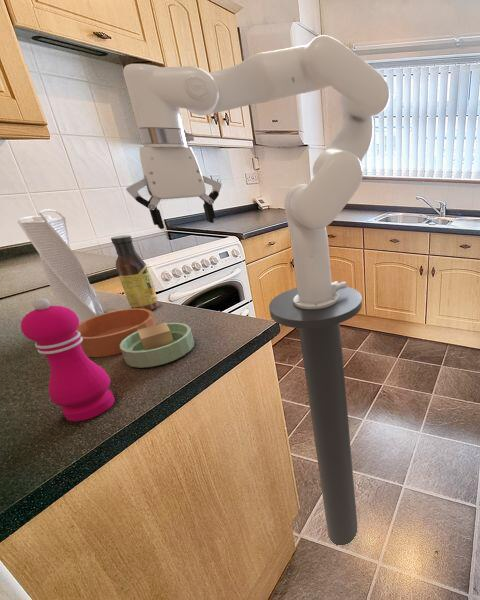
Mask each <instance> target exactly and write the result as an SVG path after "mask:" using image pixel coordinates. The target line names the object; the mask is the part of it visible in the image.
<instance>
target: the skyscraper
mask: <svg viewBox="0 0 480 600" xmlns="http://www.w3.org/2000/svg"><path fill="white" fill-rule="evenodd" d="M48 212H51V213H55V214H56V215H57V214H58V215H59V216H60V217H51V215H50V214H43V213H48ZM38 214H39V215H30V216H29V215H28V216H23V217H21V218H18V219H17V224H18V225H19V226H20V228H21V229H22V231H23V233H24V235H26V238H28V240H29V241H30V243H31V244H32V246H33V247H34V248H35V250H36V252H37V253H38V254H39V259H40V264H41V267H42V269H43V273H44V275H45V278H46V280H47V282H48V284H49V287H50V289H51V291H52V292H53V294H54V297H55V298H56V300H57V302H58V304H59V306H62V307H66V308H69V309H71V310H72V311H73V312H75V314H76V315H77V317H78V319H79V323H81V322H83V321H85V320H87V319H89V318H92V317H94V316H98V315H101V314H104V313H106V312H105V311H104V310H103V307H102V304H101V301H100V299H98V297H97V294H96V291H95V288H94V286H93V284H92V283H90V281H89V279H88V275H87V274H86V272H85V270H84V267H83V266H82V264H81V262H80V261H79V259H78V256H77V255H76V254H75V253H74V252H73V250H72V249H71V247H70V240H69V233H68V228H67V222H66V218H65V217H64V216H63V214H62V213H60V212H59V211H58V210H55V209H52V208H47V209H45V208H44V209H40V211H38Z"/></svg>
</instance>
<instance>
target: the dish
mask: <svg viewBox="0 0 480 600" xmlns="http://www.w3.org/2000/svg"><path fill="white" fill-rule="evenodd" d="M165 323H166V324H167V326H168V328H169V330H170V332H171V335H172V338H173V341H174V342H173V343H171V344H168V345H166V346H163V347H159V348H156V349H151V350H144V347H143V345H142V342H141V339H140V336H139V334H138V331H136V332H134V333H133V334H131V335H129V336H127V337H126V338H125V339H124V340H122V342H121V343H120V349H121V352H122V353H121V354H122V356H123V360H124V361H125V364H126V365H128V366H129V367H132V368H153V367H158V366H162V365H166V364H168V363H171V362H174V361H176V360H178V359H180V358H182V357H184V356H185V355H186V354H188V353H189V352H190V351H192V349H193V348H194V346H195V339H194V336H193V332H192V329H191V327H190V326H189V325H188V324H186V323H183V322H165Z"/></svg>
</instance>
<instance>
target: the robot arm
mask: <svg viewBox="0 0 480 600" xmlns="http://www.w3.org/2000/svg"><path fill="white" fill-rule="evenodd" d="M122 73H123V74H122V75H123V77H124V81H125V85H126V88H127V92H128V96H129V99H130V102H131V105H132V110H133V113H134V115H135V120H136V124H137V127H138V131H139V134H140V137H141V141H142V144H143V146H139V149H138V150H139V158H140V163H141V164H140V165H141V168H142V173H143V177H142V178H141V179H139V180H137V181H136V182H134V183H132V184H131V185H128V186H127V187H126V188H125V190H126V192H127V193H128V194H129V195H130V196H131V197H132V198H133V199H134V200H135V202H137V203H138V204H141V205H142V206H143V207H145V208H147V209H149V213H150V217H151V220H152V224H153V225H154V226H157V228H158V229H159V230H164V229H165V224H164V222H163V218H162V215H161V211H160V209H159V208H158V205H159V203H160V202H161V201H162V200H174V199H189V198H199V199H201V200H202V201H203V204H202V206H203V210H204V211H203V212H204V215H205V220H206V222H208V223H211V224H214V221H215V220H214V219H216V214H215V210H214V209H215V208H214V203H215V201H216V200H217V199H218V197H219V196H220V192H221V188H222V183H221V182H220V181H217V180H214V179H212V178H210V177H208V176H204V175H203V174H202V171H201V167H200V165H199V162H198V159H197V157H196V154H195V152H194V150H193V148H192V147H191V146H188V145H189V142H194V141H195V137H194V135H193V133H189V132H186V130H185V129H184V125H183V120H182V117H181V112H180V109H186V110H187V111H188V112H190V113H192V114H194V115H198V116H208V115H213V114H217V113H222V112H227V111H231V110H234V109H239V108H242V107H246V106H251V105H258V104H264V103H268V102H272V101H276V100H280V99H285V98H289V97H292V96H298V95H302V94H307V93H310V92H311V93H312V92H315V91H319V90H324V89H326V88H328V87H332V89H334V90H335V91H337V92H338V93H339V103H340V108H341V112H342V124H341V126H340V128H339V129H338V131H337V133H336V134H335V136H334V137H333V138H332V139H331V141H330V142H329V143H328V145H327V146H326V147H325V148H324V150H323V151H322V152H321V153H320V154H319V155H318V156H317V158H316V159H315V160H314V162H313V166H312V176H313V178H312V179H311V181H310V182H309V183H308V184H306V183H300V184H295V185H294V186H291V188H289V190H288V191H287V192H286V194H285V197H284V202H283V204H284V205H283V208H284V213H285V218H286V222H287V226H288V231H289V237H290V244H291V251H292V259H293V265H294V266H293V267H294V273H295V281H296V288H297V289H298V294H297V295H296V296H295V297H294V299H293V302H294V305H295V306H297V307H299V308H302V309H321V308H326V307H329V306H331V305H333V304H335V303H336V302H337V301H338V299H339V295H338V293H337V291H338V290H339V289H343V288H346V287H348V284H347V281H342V282H339V281H338V280H336V281H333V279H332V270H331V269H332V268H331V259H330V250H329V249H330V248H329V236H328V231H327V227H328V226H329V225H330V224H332V223H333V221H335V219H336V218H337V217H338V216H339V214H340V213H341V212H342V210H343V209H344V208H346V207H345V206H347V204H348V203H349V201H350V200H351V199H352V197H354V195H355V193H356V192H357V191H358V190H359V188H360V186H361V183H362V181H363V176H364V169H363V165H362V160H363V159H364V158H365V156H366V155H367V153H368V151H369V150H370V149H371V146H372V144H373V140H374V134H375V133H374V132H375V131H374V129H375V128H374V118H373V116H377V115H380V114H381V113H383V112H384V111H385V110H386V109H387V107H388V106H389V103H390V99H391V91H390V88H389V84H388V82H387V81H386V79H385V77H384V76H383V75H382V74H381V73H380V72H379V71H378V70H377V69H376V68H374V67H373V66H371V65H370V64H369V63H368V62H367V61H365V60H364V59H363V58H361V57H360V56H359V55H358V54H357V53H355V52H354V51H353V50H351V48H349V47H348V46H346V45H345V44H343V43H342V42H341V41H339V40H338V39H336V38H334V37H332V36H330V35H326V34H320V35H317V36H315V37H314V38H313V39H312V40H311V41H309V43H307V44H303V45H298V46H293V47H287V48H280V49H276V50H270V51H269V50H268V51H263V52H262V51H261V52H258V53H255V54H253V55H251V56H249V57H247V58H245V59H243V61H241V62H239V63H237V64H235V65H232V66H230V67H227V68H223V69H220V70H213V71H209V72H207V71H206V70H204V69H203V68H200V67H198V66H193V65H181V66H180V65H179V66H158V65H154V64H147V63H146V64H145V63H130V64H126V65H125V66H124V68H123V71H122ZM205 184H207V185H209V186H211V187H212V188H211V189H212V190H211V191H210V193H209V194H206V192H207V191H206V185H205ZM145 187H146V190H147V192H148V194H149V196H150V197H149V199H148V200H147V199H145V198H144V197H143V196H142V195H141V194H140V193H139V191H140V190H142V189H143V188H145Z"/></svg>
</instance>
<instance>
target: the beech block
mask: <svg viewBox="0 0 480 600" xmlns="http://www.w3.org/2000/svg"><path fill="white" fill-rule="evenodd" d="M166 323H167V322H162V323H159V324H156V325H154V326H150V327H147V328H143V329H139V330H137V331H138V334H139V336H140V339H141V342H142V345H143V347H144V350H151V349H156V348H159V347H163V346H166V345H168V344H171V343H173V342H174V341H173V338H172V335H171V332H170V330H169V328H168V326H167V324H166Z"/></svg>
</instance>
